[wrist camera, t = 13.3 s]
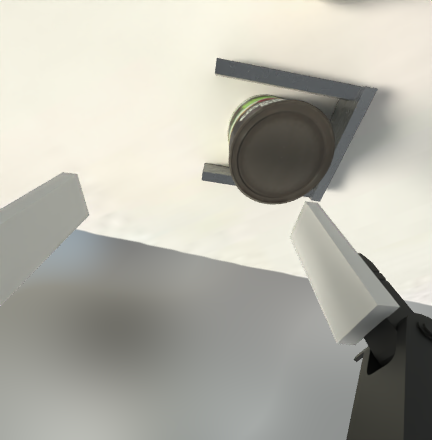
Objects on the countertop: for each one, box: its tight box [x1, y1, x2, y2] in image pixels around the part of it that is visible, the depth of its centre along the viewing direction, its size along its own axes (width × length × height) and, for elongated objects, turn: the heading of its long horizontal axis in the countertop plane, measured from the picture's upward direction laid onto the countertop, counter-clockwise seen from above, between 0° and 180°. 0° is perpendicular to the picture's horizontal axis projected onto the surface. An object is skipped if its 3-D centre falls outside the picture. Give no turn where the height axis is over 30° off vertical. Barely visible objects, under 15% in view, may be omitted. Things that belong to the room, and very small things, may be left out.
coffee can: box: [228, 95, 335, 204], centre depth 26 cm, size 10×10×14 cm
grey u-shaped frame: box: [202, 58, 377, 201], centre depth 30 cm, size 16×20×5 cm
